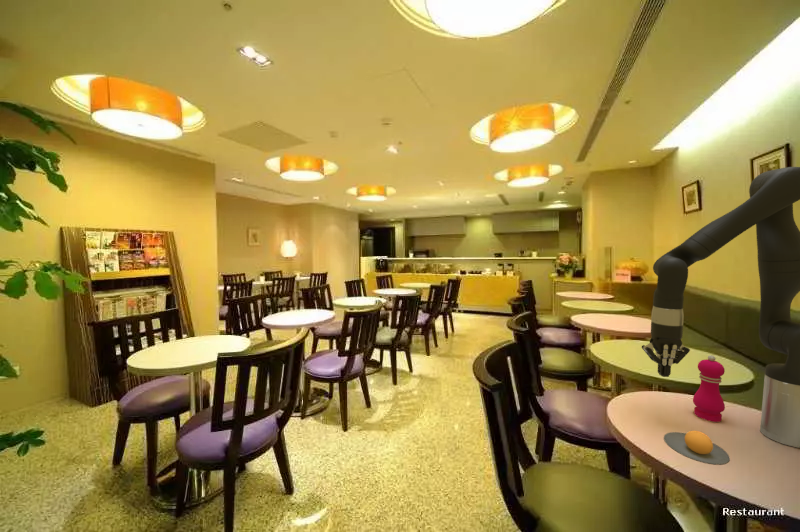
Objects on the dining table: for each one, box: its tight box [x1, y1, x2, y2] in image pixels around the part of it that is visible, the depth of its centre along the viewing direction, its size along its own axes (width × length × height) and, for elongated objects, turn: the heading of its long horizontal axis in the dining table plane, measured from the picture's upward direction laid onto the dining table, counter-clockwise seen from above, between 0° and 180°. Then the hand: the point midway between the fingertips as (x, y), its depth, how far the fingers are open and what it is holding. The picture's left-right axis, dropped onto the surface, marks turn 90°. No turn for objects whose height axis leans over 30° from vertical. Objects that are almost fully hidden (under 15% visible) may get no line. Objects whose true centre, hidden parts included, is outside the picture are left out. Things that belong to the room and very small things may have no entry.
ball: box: [685, 430, 713, 454], centre depth 84 cm, size 6×6×6 cm
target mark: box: [663, 431, 730, 465], centre depth 86 cm, size 13×13×1 cm
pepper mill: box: [692, 354, 726, 423], centre depth 99 cm, size 7×7×20 cm
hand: (663, 375), depth 98 cm, fingers closed
